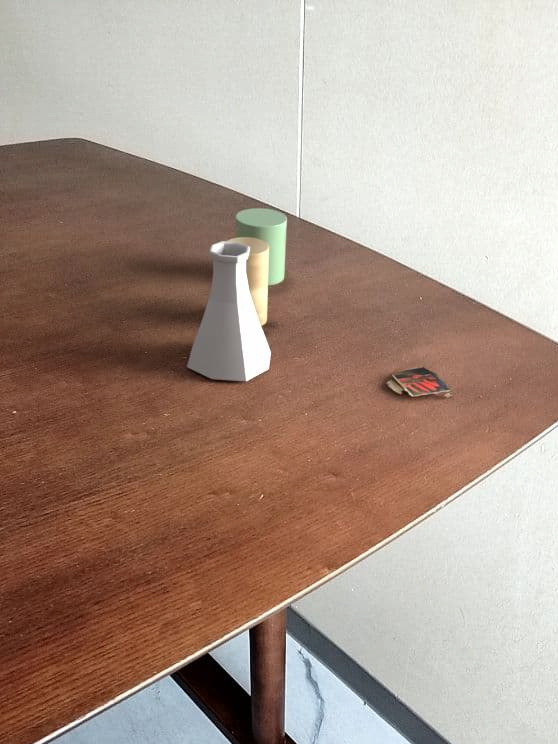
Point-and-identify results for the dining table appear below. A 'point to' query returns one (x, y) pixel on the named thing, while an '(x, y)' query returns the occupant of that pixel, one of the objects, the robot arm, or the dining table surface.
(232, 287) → the flask
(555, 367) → the dining table surface
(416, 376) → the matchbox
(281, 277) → the mint green cylinder
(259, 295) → the birch peg
